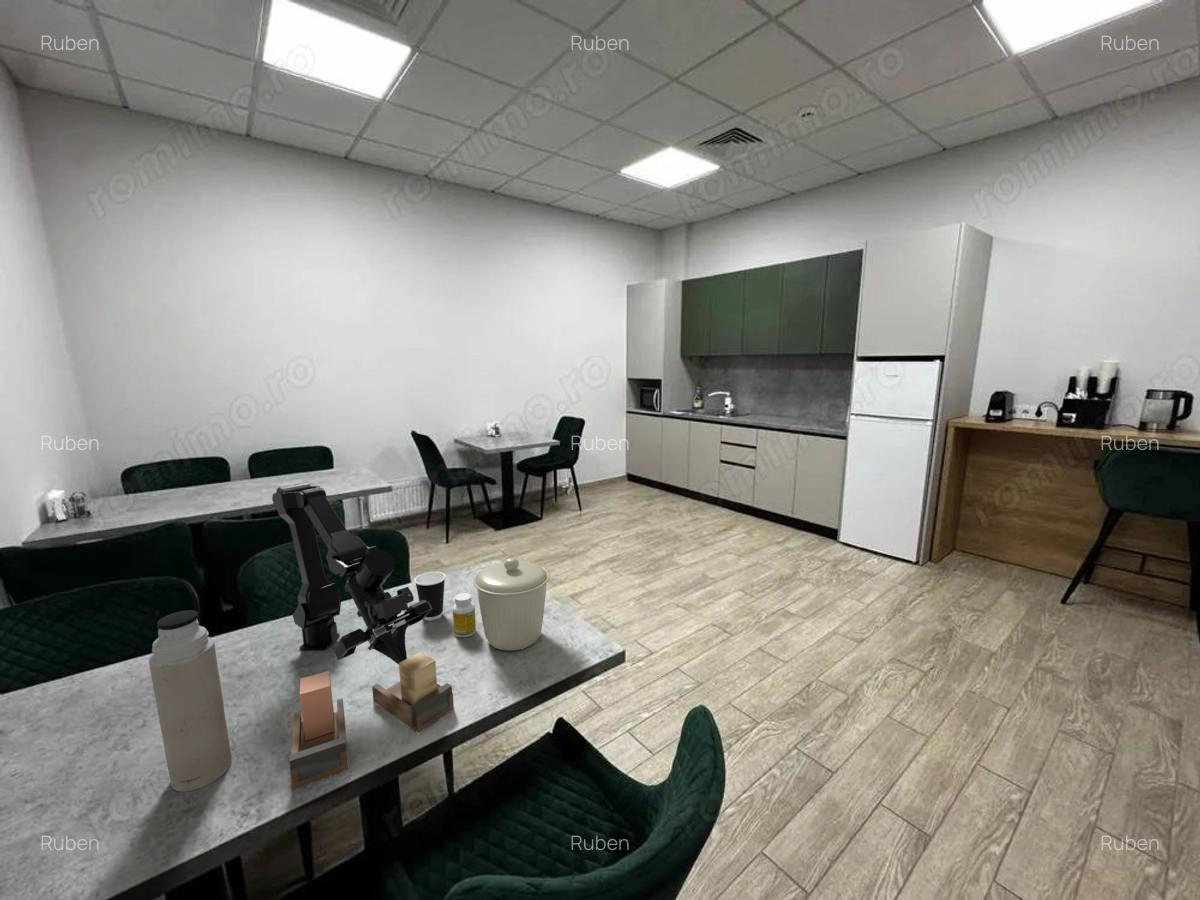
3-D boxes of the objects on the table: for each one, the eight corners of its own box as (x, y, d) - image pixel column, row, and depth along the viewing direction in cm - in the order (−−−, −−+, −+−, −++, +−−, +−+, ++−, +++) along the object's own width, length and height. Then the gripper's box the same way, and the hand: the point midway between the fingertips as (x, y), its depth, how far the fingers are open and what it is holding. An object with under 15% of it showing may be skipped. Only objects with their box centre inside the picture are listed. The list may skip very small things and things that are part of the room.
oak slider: (402, 705, 95) (398, 663, 94) (422, 693, 99) (419, 651, 97) (417, 716, 92) (414, 672, 91) (438, 702, 96) (435, 660, 95)
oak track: (373, 701, 98) (371, 679, 98) (408, 680, 105) (407, 659, 104) (418, 733, 90) (416, 709, 89) (453, 708, 96) (452, 686, 95)
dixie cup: (453, 616, 132) (451, 577, 130) (424, 627, 126) (422, 587, 124) (439, 605, 137) (437, 568, 135) (411, 615, 132) (409, 577, 130)
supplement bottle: (469, 639, 121) (468, 602, 119) (449, 636, 122) (447, 600, 120) (479, 627, 126) (477, 592, 124) (460, 625, 127) (458, 590, 125)
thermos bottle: (157, 793, 77) (127, 631, 72) (194, 754, 85) (169, 605, 80) (211, 790, 78) (184, 629, 73) (242, 751, 86) (221, 603, 81)
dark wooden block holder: (296, 729, 91) (293, 705, 90) (344, 714, 95) (341, 691, 94) (292, 789, 78) (289, 762, 77) (348, 769, 82) (345, 743, 81)
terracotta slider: (305, 723, 91) (300, 678, 89) (334, 714, 93) (329, 670, 91) (305, 740, 86) (299, 694, 85) (334, 731, 89) (329, 685, 87)
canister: (564, 644, 118) (562, 562, 115) (493, 670, 108) (489, 581, 105) (530, 613, 133) (528, 539, 129) (465, 633, 123) (461, 554, 119)
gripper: (336, 597, 89) (374, 674, 85) (424, 564, 104) (460, 627, 100) (319, 623, 95) (353, 696, 91) (405, 588, 110) (438, 649, 106)
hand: (404, 665), depth 97 cm, fingers closed
